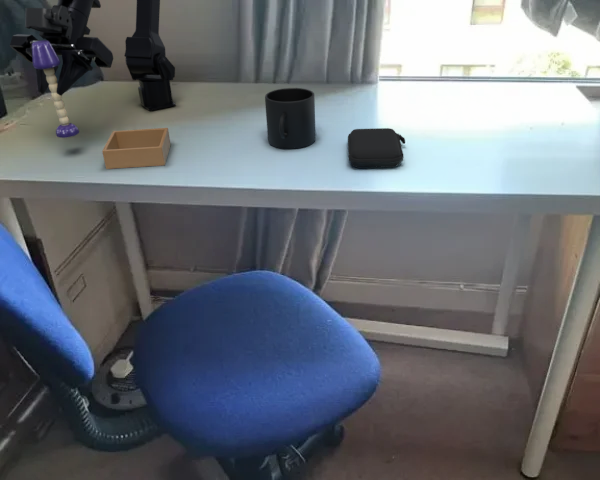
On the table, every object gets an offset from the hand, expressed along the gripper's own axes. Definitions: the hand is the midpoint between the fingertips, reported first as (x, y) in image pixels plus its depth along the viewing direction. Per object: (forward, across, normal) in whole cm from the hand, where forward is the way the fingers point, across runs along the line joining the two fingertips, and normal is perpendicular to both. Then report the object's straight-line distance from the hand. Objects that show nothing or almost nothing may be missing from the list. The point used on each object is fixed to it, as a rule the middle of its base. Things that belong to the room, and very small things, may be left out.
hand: (49, 93), depth 113 cm
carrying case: (-2, +57, +21) cm, 61 cm away
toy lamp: (+5, 0, +7) cm, 8 cm away
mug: (-4, +39, +22) cm, 45 cm away
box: (+6, +13, +12) cm, 19 cm away
